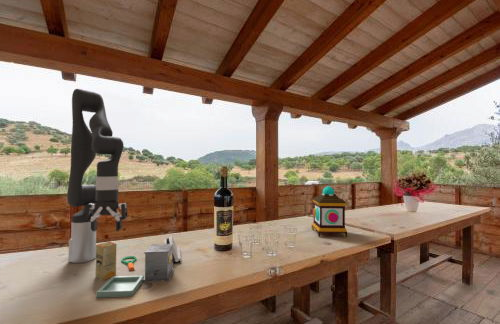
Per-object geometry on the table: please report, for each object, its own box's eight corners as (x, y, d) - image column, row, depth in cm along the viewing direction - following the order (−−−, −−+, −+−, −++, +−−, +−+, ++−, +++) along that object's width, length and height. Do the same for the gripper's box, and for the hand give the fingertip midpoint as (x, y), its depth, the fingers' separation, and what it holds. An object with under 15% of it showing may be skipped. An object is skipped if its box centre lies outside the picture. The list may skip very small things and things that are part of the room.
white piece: (182, 263, 105) (174, 242, 104) (171, 268, 104) (163, 246, 103) (180, 250, 121) (173, 231, 120) (171, 254, 120) (164, 235, 119)
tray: (96, 297, 77) (96, 292, 77) (112, 281, 88) (112, 276, 88) (132, 296, 78) (132, 290, 78) (143, 280, 89) (144, 275, 89)
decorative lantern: (350, 238, 143) (350, 187, 144) (316, 238, 143) (317, 187, 144) (338, 229, 163) (338, 185, 164) (309, 229, 163) (309, 184, 164)
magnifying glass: (120, 260, 109) (120, 256, 109) (135, 257, 112) (135, 254, 112) (123, 273, 96) (123, 268, 96) (139, 270, 99) (139, 265, 99)
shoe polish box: (108, 272, 96) (109, 241, 96) (115, 275, 93) (116, 243, 93) (95, 277, 91) (95, 245, 91) (102, 280, 89) (103, 247, 89)
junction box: (142, 282, 88) (142, 252, 88) (150, 270, 97) (150, 244, 97) (168, 281, 89) (168, 252, 89) (174, 270, 98) (174, 243, 98)
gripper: (81, 189, 88) (80, 234, 88) (122, 189, 90) (121, 233, 89) (93, 187, 96) (92, 228, 96) (130, 187, 97) (130, 227, 97)
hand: (106, 230), depth 92 cm, fingers open, 8 cm apart
